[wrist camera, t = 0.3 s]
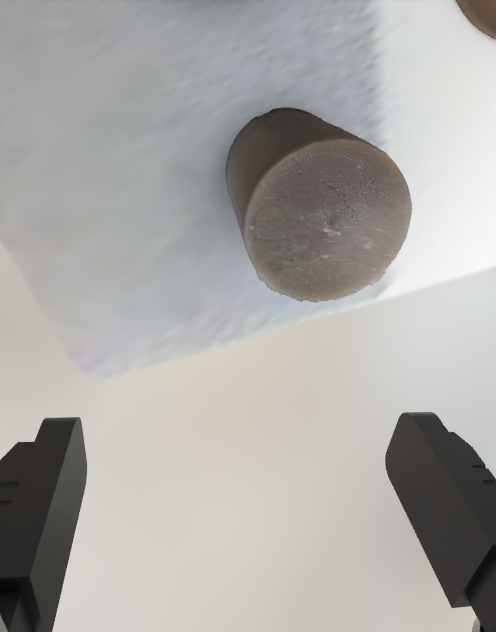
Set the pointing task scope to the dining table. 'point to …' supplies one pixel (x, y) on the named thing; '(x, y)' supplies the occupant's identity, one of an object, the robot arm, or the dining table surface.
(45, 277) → the dining table surface
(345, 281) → the pillar candle
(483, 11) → the stone ring brown dish
